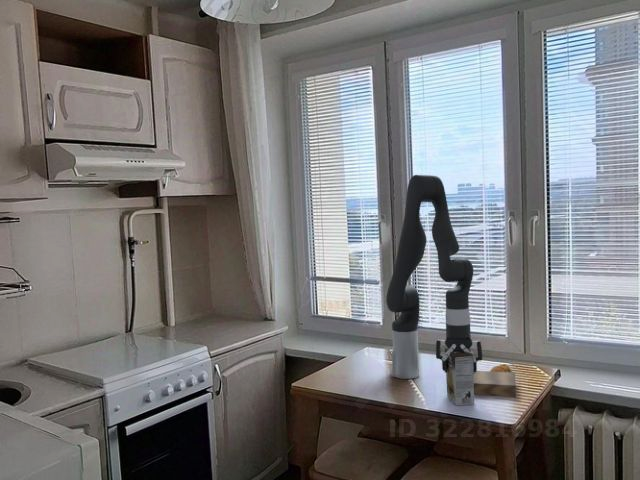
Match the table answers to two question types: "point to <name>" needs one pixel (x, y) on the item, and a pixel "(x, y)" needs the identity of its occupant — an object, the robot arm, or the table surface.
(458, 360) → the coffee box
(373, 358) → the table surface
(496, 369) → the pastry
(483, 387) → the plinth
